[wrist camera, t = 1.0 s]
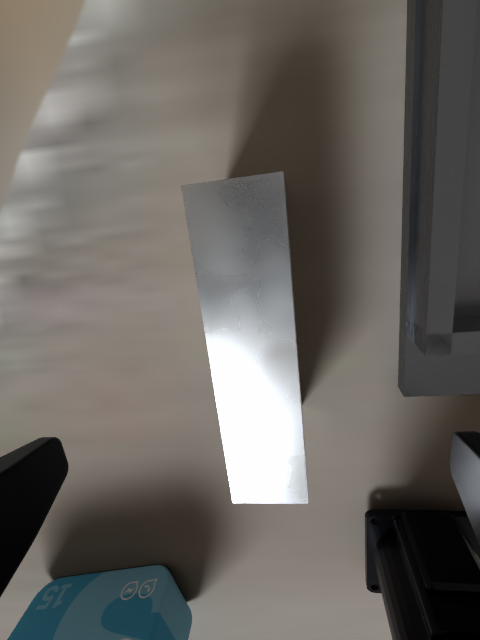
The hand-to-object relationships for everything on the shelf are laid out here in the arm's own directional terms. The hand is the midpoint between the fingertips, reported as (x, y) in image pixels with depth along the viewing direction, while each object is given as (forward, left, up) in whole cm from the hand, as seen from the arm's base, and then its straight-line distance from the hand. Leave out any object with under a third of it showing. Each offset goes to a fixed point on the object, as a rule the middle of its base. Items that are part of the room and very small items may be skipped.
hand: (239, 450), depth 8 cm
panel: (0, 0, -11) cm, 11 cm away
